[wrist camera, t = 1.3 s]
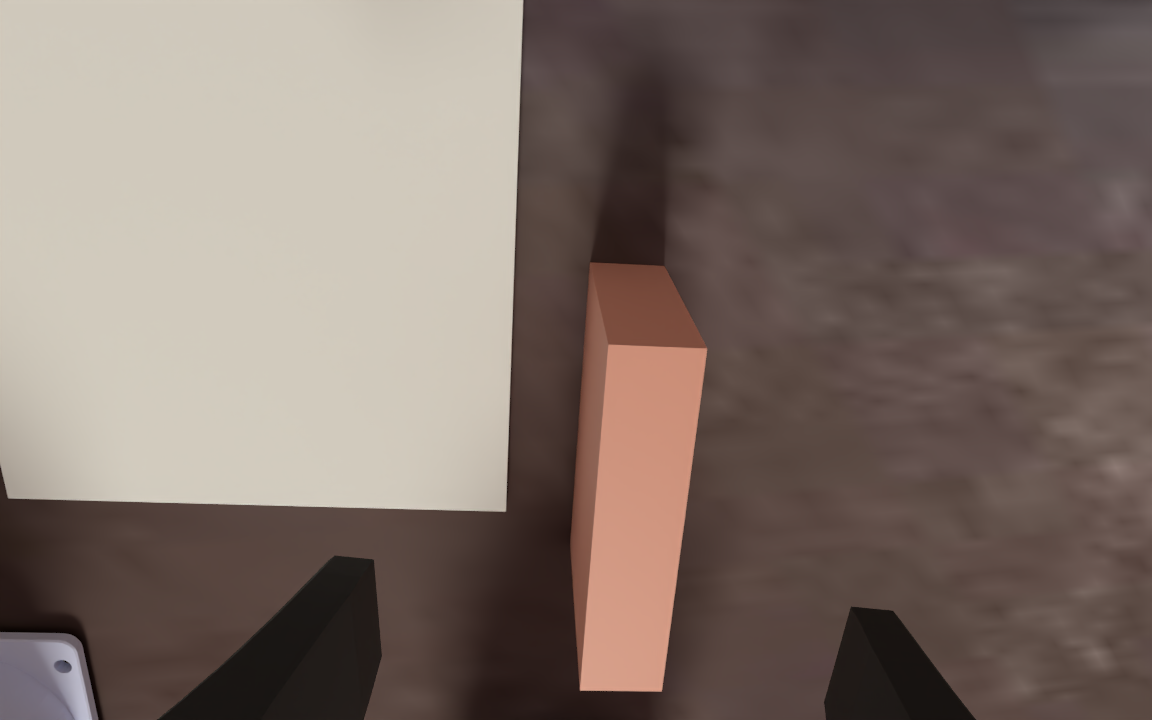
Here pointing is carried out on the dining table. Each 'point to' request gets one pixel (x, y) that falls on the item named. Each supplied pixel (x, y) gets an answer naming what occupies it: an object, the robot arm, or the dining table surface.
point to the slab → (632, 472)
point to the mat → (258, 250)
